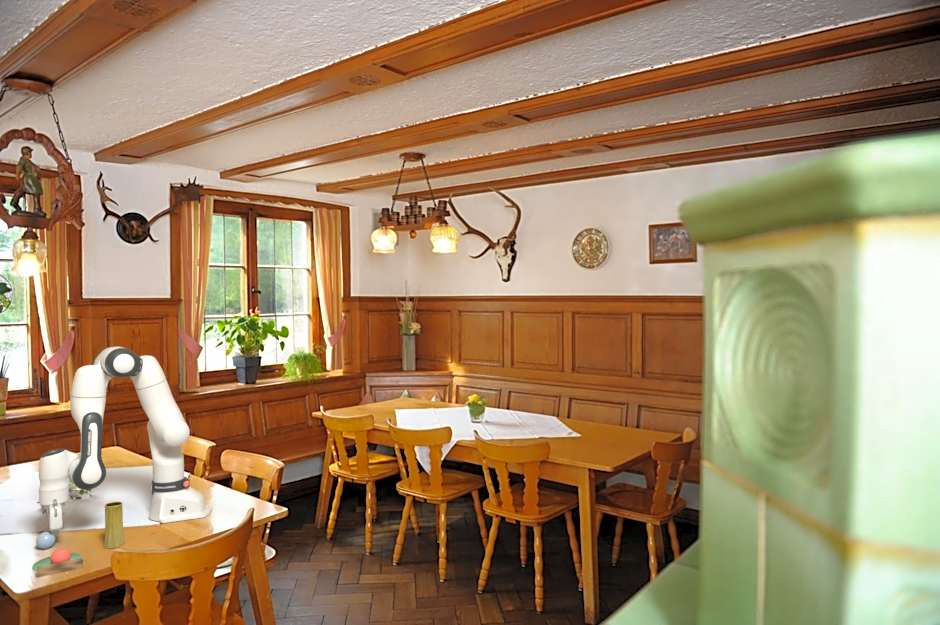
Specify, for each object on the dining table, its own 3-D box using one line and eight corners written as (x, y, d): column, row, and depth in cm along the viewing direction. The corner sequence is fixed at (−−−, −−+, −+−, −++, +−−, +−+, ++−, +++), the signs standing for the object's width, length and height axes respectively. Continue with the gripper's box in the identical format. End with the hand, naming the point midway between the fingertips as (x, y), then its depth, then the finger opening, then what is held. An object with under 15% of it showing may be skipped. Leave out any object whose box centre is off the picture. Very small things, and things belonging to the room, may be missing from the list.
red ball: (73, 564, 205) (72, 547, 207) (67, 562, 200) (66, 544, 202) (54, 570, 203) (53, 553, 205) (47, 568, 198) (46, 550, 201)
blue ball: (47, 529, 216) (59, 540, 217) (47, 527, 220) (59, 538, 222) (31, 542, 213) (44, 553, 214) (32, 539, 218) (44, 550, 219)
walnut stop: (82, 565, 203) (82, 557, 203) (83, 567, 202) (82, 559, 202) (36, 575, 196) (36, 566, 196) (37, 577, 195) (36, 569, 195)
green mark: (90, 551, 214) (90, 551, 214) (75, 569, 201) (75, 568, 201) (42, 556, 211) (42, 555, 211) (24, 574, 197) (24, 573, 197)
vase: (109, 542, 223) (108, 501, 222) (127, 541, 223) (127, 500, 223) (100, 549, 217) (100, 507, 216) (119, 548, 217) (118, 506, 217)
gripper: (67, 502, 217) (67, 542, 218) (63, 487, 234) (63, 525, 234) (44, 506, 214) (45, 547, 214) (42, 490, 230) (43, 529, 231)
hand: (54, 535), depth 224 cm, fingers closed
